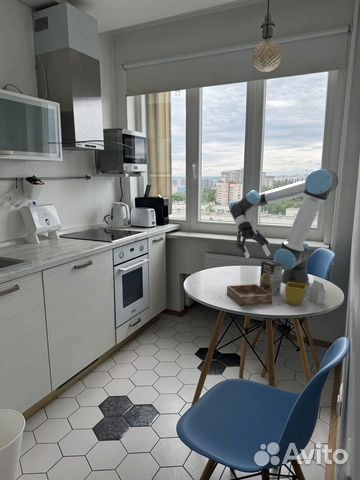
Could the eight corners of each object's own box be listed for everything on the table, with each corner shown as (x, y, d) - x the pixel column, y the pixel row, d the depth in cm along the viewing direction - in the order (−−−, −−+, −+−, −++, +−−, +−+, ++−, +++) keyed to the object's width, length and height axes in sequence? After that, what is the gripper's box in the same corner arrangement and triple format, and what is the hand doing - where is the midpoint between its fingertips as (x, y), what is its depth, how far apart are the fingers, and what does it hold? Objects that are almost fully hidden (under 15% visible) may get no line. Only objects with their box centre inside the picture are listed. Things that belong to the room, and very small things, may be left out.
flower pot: (286, 298, 161) (288, 281, 159) (305, 302, 157) (307, 284, 155) (283, 304, 153) (285, 286, 151) (303, 308, 149) (305, 289, 147)
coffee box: (258, 290, 171) (260, 261, 168) (267, 289, 174) (270, 259, 171) (271, 296, 164) (273, 265, 161) (280, 294, 167) (283, 263, 164)
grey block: (317, 304, 154) (319, 284, 152) (309, 299, 161) (311, 279, 159) (324, 304, 155) (326, 283, 153) (315, 298, 161) (317, 279, 160)
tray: (255, 292, 169) (256, 283, 168) (271, 303, 154) (272, 294, 153) (226, 294, 165) (227, 285, 164) (240, 306, 150) (240, 297, 149)
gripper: (258, 227, 194) (273, 258, 183) (222, 229, 183) (236, 262, 173) (264, 220, 188) (280, 250, 177) (227, 221, 178) (242, 254, 167)
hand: (258, 256), depth 175 cm, fingers open, 13 cm apart
